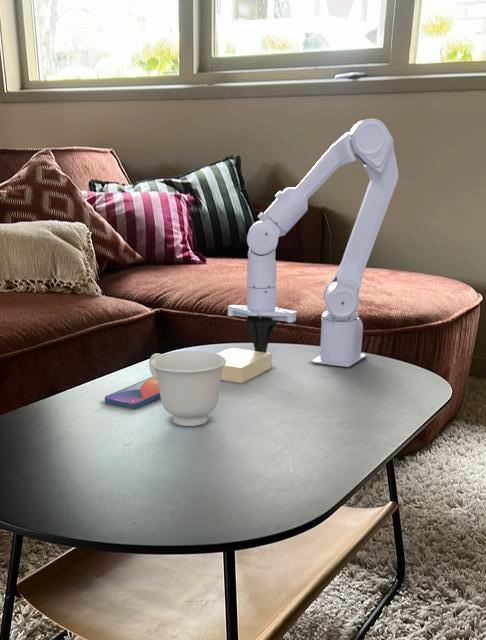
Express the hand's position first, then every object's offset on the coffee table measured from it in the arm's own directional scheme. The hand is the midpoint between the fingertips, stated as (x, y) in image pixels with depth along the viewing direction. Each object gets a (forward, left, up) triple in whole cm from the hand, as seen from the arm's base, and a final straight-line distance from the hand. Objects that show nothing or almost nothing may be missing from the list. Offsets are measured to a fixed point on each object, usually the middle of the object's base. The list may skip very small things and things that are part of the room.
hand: (260, 354), depth 156 cm
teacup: (+38, +6, -2) cm, 39 cm away
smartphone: (+31, -7, -2) cm, 31 cm away
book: (+10, 0, -1) cm, 10 cm away
